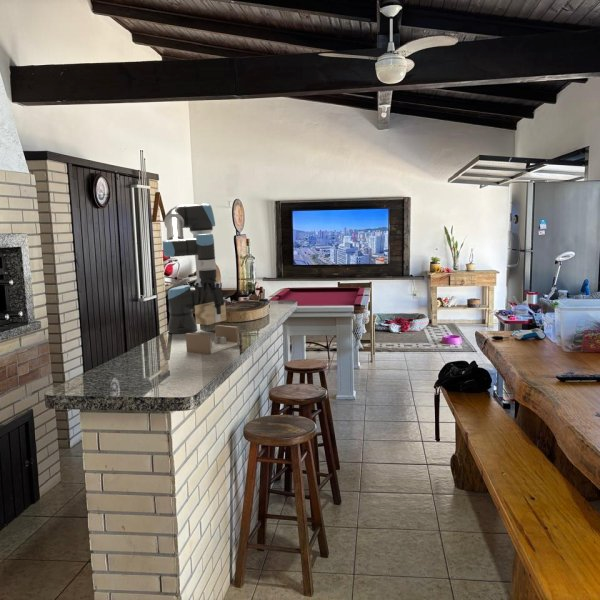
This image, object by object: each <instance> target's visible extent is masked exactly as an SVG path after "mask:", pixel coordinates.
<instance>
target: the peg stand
mask: <svg viewBox="0 0 600 600" xmlns="http://www.w3.org/2000/svg"><path fill="white" fill-rule="evenodd" d="M214 333H215V336H213V339H214V340H211V339H210V337H211V336H210V335H209V334H200V333H192V332H188V333H185V343H186V352H188V353H195V354H204V355H212V354H214V353H217V352H220V351H224V350H225V349H226V350H227V349H229V348H232V347H236V346H238V345H240V336H239V335H240V333H239V326H235V325H233V326H232V325H221V324H215V325H214Z"/></svg>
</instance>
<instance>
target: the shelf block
mask: <svg viewBox="0 0 600 600" xmlns="http://www.w3.org/2000/svg"><path fill="white" fill-rule="evenodd" d="M217 304H218V303H217ZM214 307H215V304H214V302H210V303H205V304H201V305H196V306H195V310H194V314H195V315H194V316H195V317H194V318H195V323H196V324H197V325H204V326H205V325H206V326H208V325H209V326H210V325H213V324H216V323H221V322H225V321H227V310H226V309H227V308H226V301H225V302H224V305H222V306H221V314H220V318H221V321H219V322H215V313H214Z"/></svg>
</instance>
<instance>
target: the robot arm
mask: <svg viewBox="0 0 600 600" xmlns="http://www.w3.org/2000/svg"><path fill="white" fill-rule="evenodd" d="M163 222H164V227H165V228H166V240H163V241H162V251H163V252H162V253H163V254H162V255H163V256H164V258H175V257H177V258H178V257H186V256H187V257H189V256H194V258H195V259H194V260H195V261H194V262H195V271H196V272H195V273H196V281H195V282H194V284H193V285H194V286H193V287H191V284H186V285H185V284H183V285H179V286H175V287H172V288H169V289H168V291H167V299H168V312H169V321H168V325H167V333H168V334H186V333H192V332H195V331H197V330H198V324H196V319H195V317H194V315H193V310H194V311H195V306H196V305H201V304H205V303H210V302H214V304H215V307H214V313H215V322H217V323H220V322H219V321H221V318H220V314H221V306H222V305H224V295H223V290H222V289H223V288H222V287H223V283H222V282H217V279H216V278H217V263H216V256H215V255H216V253H215V239H214V234H213V233H212V232H213V230H214V228H213V227H215V226H216V220H215V216H214V211H213V208H212V205H210V204H209V203H195V204H179V205H176V206H174V207H172V208H171V209H170V210H169V211H167V212H166V215H165V216H164V221H163ZM184 229H189V232H190V233H191V234H192V235H193V238H184ZM217 303H218V304H217ZM221 322H222V321H221ZM168 331H169V332H168Z"/></svg>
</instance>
